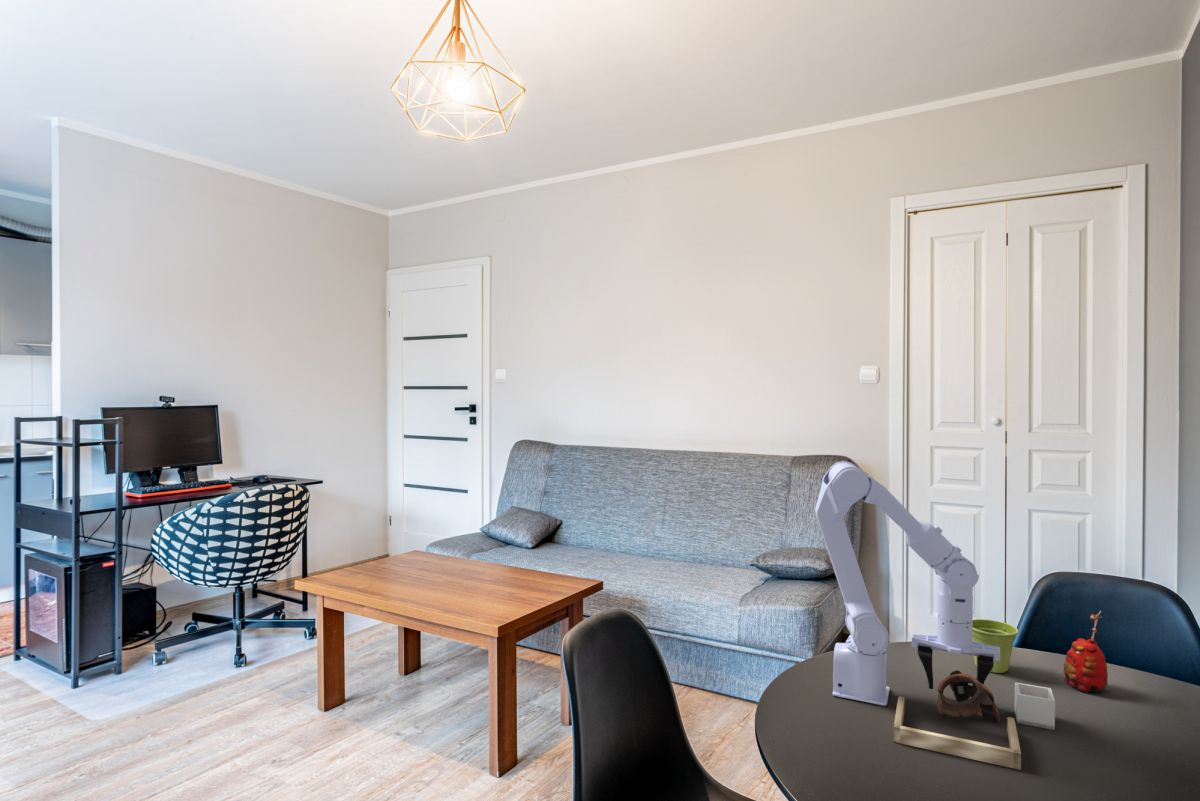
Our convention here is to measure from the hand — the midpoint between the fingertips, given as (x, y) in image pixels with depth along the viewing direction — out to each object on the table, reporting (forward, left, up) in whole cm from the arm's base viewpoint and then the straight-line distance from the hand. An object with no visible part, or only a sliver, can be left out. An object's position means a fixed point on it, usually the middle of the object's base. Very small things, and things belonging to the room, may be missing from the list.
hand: (954, 691), depth 127 cm
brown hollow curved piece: (+2, -5, -2) cm, 6 cm away
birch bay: (0, -14, -2) cm, 15 cm away
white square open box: (+12, -1, -2) cm, 13 cm away
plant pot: (+7, +21, -2) cm, 22 cm away
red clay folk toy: (+23, +19, -2) cm, 30 cm away
